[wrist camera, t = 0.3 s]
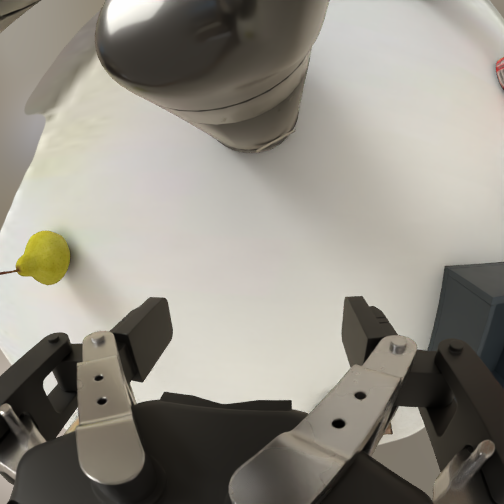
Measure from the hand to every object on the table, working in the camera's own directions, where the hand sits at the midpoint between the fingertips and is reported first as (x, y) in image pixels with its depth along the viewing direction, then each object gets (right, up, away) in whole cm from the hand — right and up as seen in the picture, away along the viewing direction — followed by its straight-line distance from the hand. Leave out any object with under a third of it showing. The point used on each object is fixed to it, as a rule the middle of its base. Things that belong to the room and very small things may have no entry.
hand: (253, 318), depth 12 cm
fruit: (-26, +3, +20) cm, 33 cm away
